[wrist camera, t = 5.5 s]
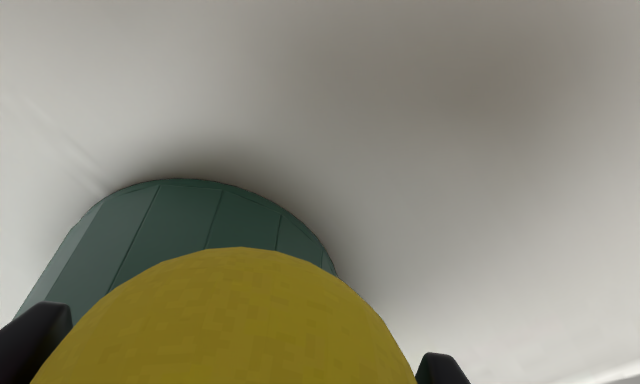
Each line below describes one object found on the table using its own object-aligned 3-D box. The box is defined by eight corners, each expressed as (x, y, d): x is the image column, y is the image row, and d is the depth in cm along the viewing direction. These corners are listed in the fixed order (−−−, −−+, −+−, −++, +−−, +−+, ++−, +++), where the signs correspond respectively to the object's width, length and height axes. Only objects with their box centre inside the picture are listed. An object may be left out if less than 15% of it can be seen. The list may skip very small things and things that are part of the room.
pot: (13, 274, 24) (-113, 454, 18) (191, 121, 20) (108, 289, 13) (212, 405, 29) (170, 585, 22) (394, 306, 24) (409, 498, 18)
